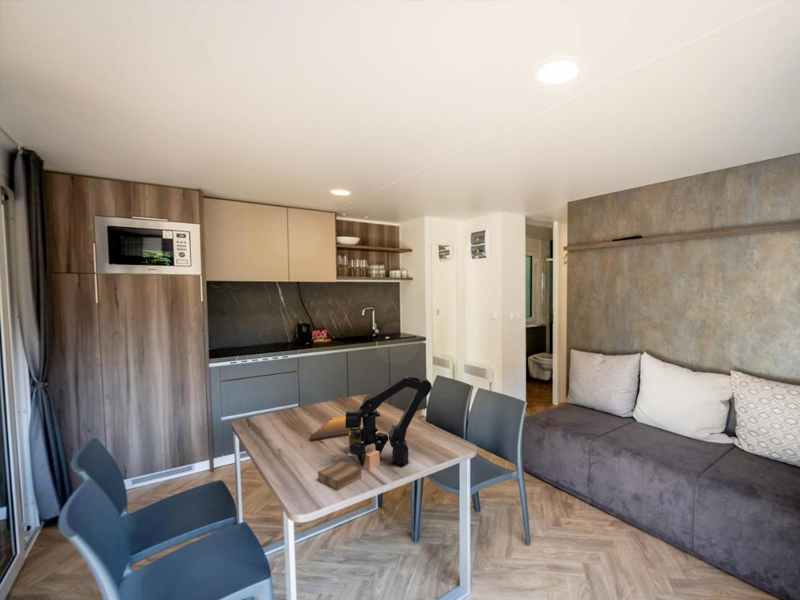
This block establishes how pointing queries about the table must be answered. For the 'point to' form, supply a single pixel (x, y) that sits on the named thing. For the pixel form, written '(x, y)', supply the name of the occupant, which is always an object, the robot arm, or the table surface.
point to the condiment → (353, 440)
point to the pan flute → (332, 429)
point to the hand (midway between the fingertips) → (369, 462)
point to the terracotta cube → (371, 459)
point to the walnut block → (339, 475)
